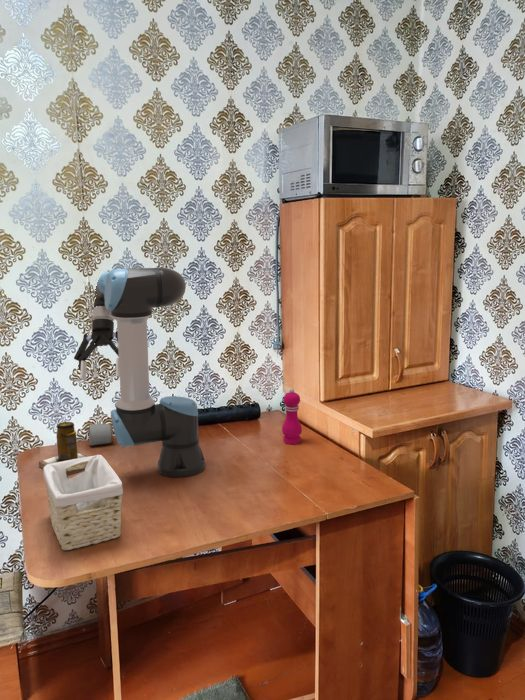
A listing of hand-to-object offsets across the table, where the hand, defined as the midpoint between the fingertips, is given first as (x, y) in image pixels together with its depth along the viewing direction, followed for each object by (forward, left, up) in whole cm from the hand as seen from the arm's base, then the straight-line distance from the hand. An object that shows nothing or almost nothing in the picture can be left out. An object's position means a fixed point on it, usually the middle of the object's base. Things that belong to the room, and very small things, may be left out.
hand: (100, 378), depth 200 cm
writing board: (-7, +19, -25) cm, 32 cm away
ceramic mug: (+4, -1, -25) cm, 26 cm away
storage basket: (-48, +37, -25) cm, 65 cm away
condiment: (-7, +19, -23) cm, 31 cm away
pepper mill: (-49, -46, -25) cm, 72 cm away
